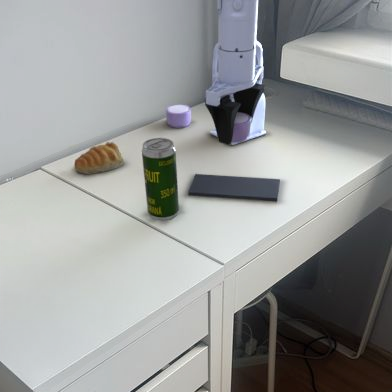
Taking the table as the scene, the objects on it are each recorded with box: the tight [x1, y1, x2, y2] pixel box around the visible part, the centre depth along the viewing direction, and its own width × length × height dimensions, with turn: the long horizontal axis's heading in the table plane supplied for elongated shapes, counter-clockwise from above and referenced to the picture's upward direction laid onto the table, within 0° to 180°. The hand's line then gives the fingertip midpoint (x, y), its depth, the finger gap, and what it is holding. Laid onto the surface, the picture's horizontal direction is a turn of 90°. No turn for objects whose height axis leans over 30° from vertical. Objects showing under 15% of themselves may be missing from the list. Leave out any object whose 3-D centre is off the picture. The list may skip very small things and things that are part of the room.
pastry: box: [74, 141, 125, 175], centre depth 99 cm, size 9×7×4 cm
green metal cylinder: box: [141, 137, 180, 221], centre depth 83 cm, size 5×5×12 cm
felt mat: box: [187, 173, 281, 202], centre depth 92 cm, size 16×7×1 cm, turn 80°
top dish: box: [231, 112, 251, 143], centre depth 85 cm, size 6×6×3 cm
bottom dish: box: [165, 104, 192, 129], centre depth 113 cm, size 6×6×3 cm
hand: (234, 136), depth 86 cm, fingers closed on top dish, 5 cm apart
